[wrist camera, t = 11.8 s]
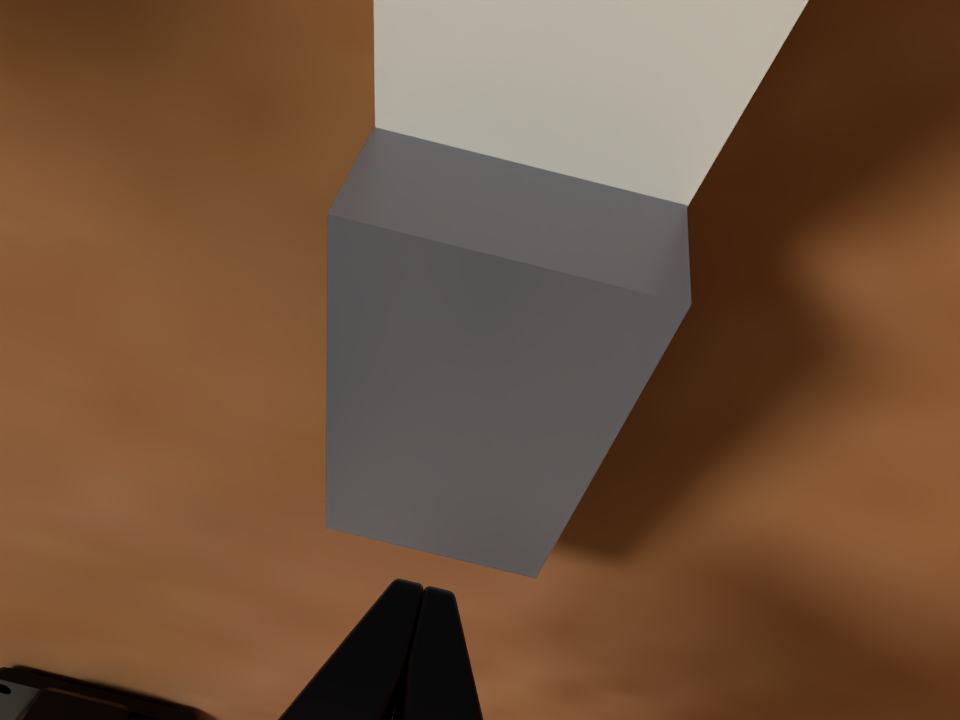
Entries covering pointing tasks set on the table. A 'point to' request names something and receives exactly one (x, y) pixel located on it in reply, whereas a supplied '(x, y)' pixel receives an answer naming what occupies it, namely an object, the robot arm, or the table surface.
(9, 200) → the table surface
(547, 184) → the domino
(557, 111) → the domino
